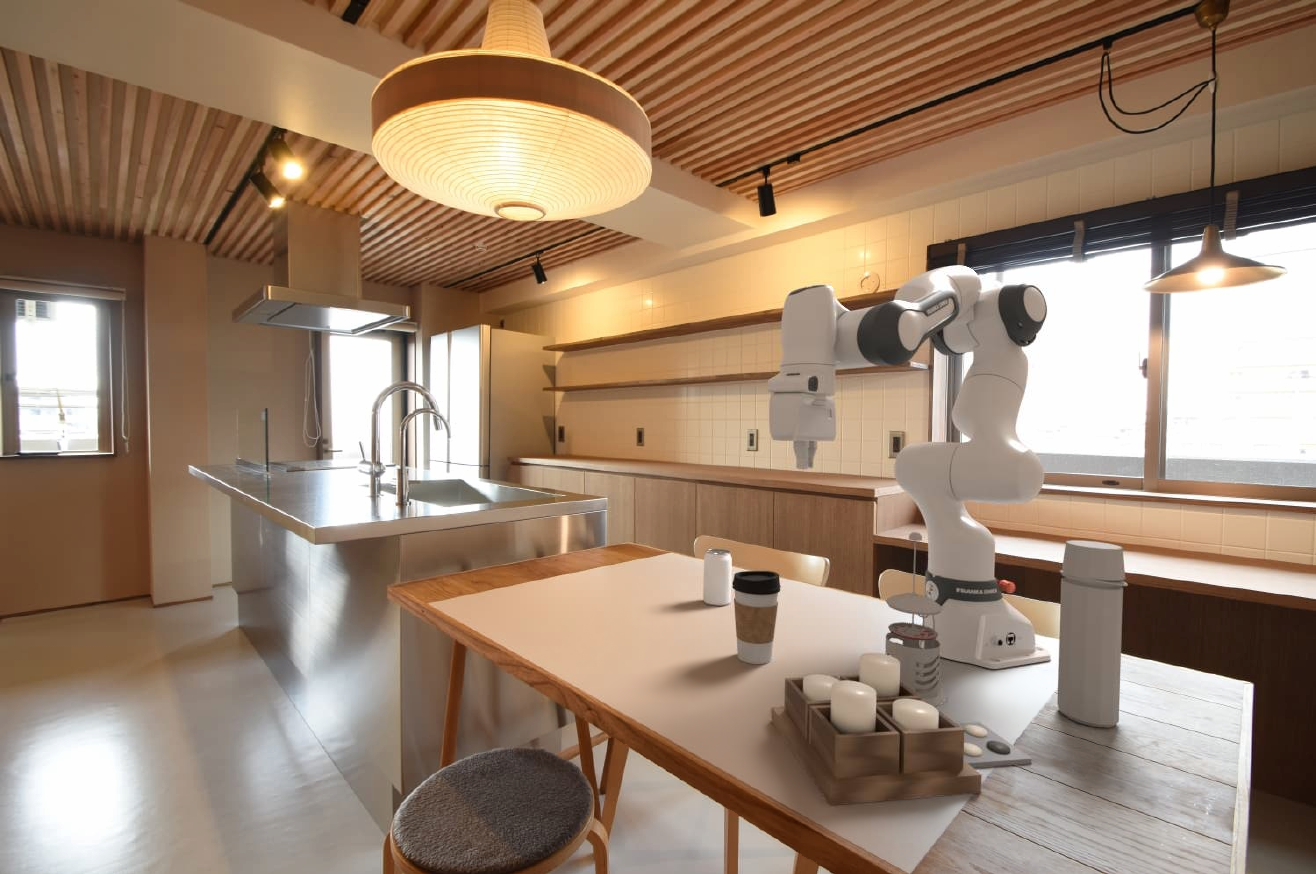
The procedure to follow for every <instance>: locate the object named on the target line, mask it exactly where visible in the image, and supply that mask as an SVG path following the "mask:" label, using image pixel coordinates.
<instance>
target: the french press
mask: <svg viewBox="0 0 1316 874" xmlns="http://www.w3.org/2000/svg"><path fill="white" fill-rule="evenodd" d="M908 539H909V540H910V541H914V542H913V545H914V547H913V548H914V549H913V550H914V552H913V576H912V577H913V579H912V580H913V582H912V583H913V584H912V592H905V593H899V594H894V595H892V596H889V597H888V598H886V600H885V603H886V604H887V605H888V608H891V609H893V610H896V611H899V612H900V613H905V614H910V615H912V616H911V618H912V619H911V622H906V621H905V622H904V621H901V622H900V621H899V622H893V623H891V624H889V625H888V627H887V628H888V630H889V631H890V632H887V633H886V635H885V653H884V654H885V655H889V656H892V657H894V658H896V659H897V660H899V661H900V682H902V683H903V684H904V685H905V686H907V687H908V688H909V689H911V690H912V691H913V692H915V693H916V694H917V695H919V696H920V697H921V700H925V701H927V702H928V703H929V704H931V705H932V706H933V707H937V706H940V705H942V704H945V703H946V702H945V701H946V699H947V698H946V696H945V694H944V693H943V691H942V690H941V689H940V666H941V665H940V663H939V662H940V659H941V657H940V655H939V653H940V643H939V642H938V641H937V640H936V637H937V636H938V633H937V632H936V631H935V620H934V615H936V614H939V613H940V612H941V611H942V609H943V608H942V607H941V606H940V605H939V604H938V603H936V602H935V601H934V600H932V599H931V598H928V597H926V595H924V594H918V593H916V591H915V590H916V589H915V587H916V584H915V582H916V556H917V554H916V552H917V551H916V550H917V549H916V548H917V547H916V545H917V541H919V542H920V541H923V535H921V533H920V532H913V531H912V532H911V533H909V534H908ZM915 615H917V616H919V618H922V622H923V625H922V624H919V623H918V624H917V623H915V620H914V619H915ZM924 615H927V616H924ZM929 615H932V618H933V629H931V628H928V627H927V626H926V627H925V626H924V624H925V621H924V618H928V616H929ZM891 639H896V640H899V641H901V642H902V643H899V642H893V641H892V640H891ZM919 640H921V642H920V645H919ZM922 641H924V649H923V648H921V647H920V646H921V644H922ZM919 664H921V665H923V667H919V666H920V665H919ZM919 673H920V674H923V675H922V676H921V675H919Z"/></svg>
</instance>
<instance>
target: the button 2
mask: <svg viewBox="0 0 1316 874" xmlns="http://www.w3.org/2000/svg"><path fill="white" fill-rule="evenodd" d="M830 724H831V725H832V726H833V727H834V728H835V729H836V730H837V731H838V733H839V734H840V735H845V734H861V733H875V726H876V691H875V690H874V689H873V688H872V687H870V686H868V685H866V684H863V683H860V682H856V681H848V680H843V681H837V682H834V683H833V684H832V686H831V719H830Z"/></svg>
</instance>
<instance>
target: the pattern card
mask: <svg viewBox="0 0 1316 874" xmlns="http://www.w3.org/2000/svg"><path fill="white" fill-rule="evenodd" d="M955 723H956V724H957V725H959V726H960V727H961V728H963V729H964V758H963V760H964V761H965V762H967V763H968V764H969V765H970V766H971V767H973V768H974V769H975V768H976V769H977V768H986V767H987V768H989V767H1001V766H1002V767H1003V766H1012V765H1027V764H1032V760H1033V759H1032V758H1031V757H1030V756H1029V755H1027V754H1026V753H1025V752H1023V751H1022V750H1021V749H1019V748H1017V747H1016V746H1015V745H1013V744H1012V743H1010V742H1009V741H1008V740H1007V739H1004V737H1002V736H1000V735H999V734H998V733H996V731H995V732H994V731H993V730H992V729H991V728H989V727H988V726H986V725H985V724H983V723H982V722H981V721H970V722H969V721H968V722H955Z"/></svg>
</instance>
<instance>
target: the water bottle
mask: <svg viewBox="0 0 1316 874" xmlns="http://www.w3.org/2000/svg"><path fill="white" fill-rule="evenodd" d="M1123 549H1124V548H1123V547H1122V546H1120V545H1116V544H1112V543H1108V542H1107V543H1106V542H1099V541H1090V540H1078V539H1077V540H1066V541H1065V545H1064V554H1063V562H1062V569H1061V570H1059V573H1060V574H1061V576H1062V578H1061V579H1060V607H1059V608H1060V609H1059V615H1060V616H1059V637H1058V638H1059V640H1058V641H1059V643H1058V645H1059V646H1058V667H1057V668H1058V669H1057V670H1058V672H1057V675H1058V676H1057V677H1058V678H1057V701H1056V702H1057V707H1058V710H1059V711H1060V712H1061V714H1062V715H1064V716H1066V717H1067V718H1069V719H1070V720H1072V721H1074V722H1076V723H1079V724H1081V725H1084V726H1085V725H1086V726H1089V727H1094V728H1112V727H1113V726H1115V725H1117V724H1118V723H1119V722H1120V697H1121V696H1120V692H1121V689H1120V688H1121V665H1122V663H1121V661H1122V630H1123V629H1122V628H1123V627H1122V626H1123V603H1124V599H1123V597H1124V588H1123V587H1128V586H1129V584H1128V583H1127V582H1125V580H1126V570H1125V560H1124V550H1123Z"/></svg>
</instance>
